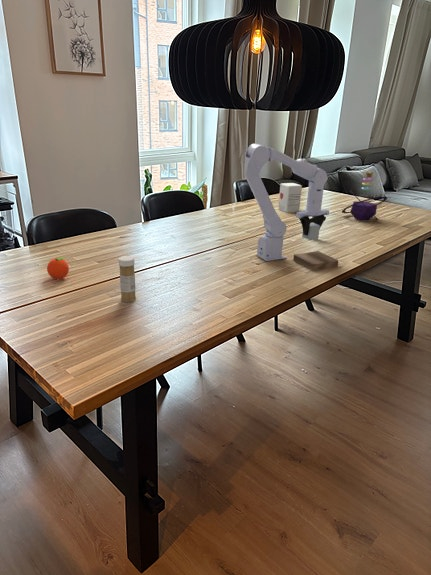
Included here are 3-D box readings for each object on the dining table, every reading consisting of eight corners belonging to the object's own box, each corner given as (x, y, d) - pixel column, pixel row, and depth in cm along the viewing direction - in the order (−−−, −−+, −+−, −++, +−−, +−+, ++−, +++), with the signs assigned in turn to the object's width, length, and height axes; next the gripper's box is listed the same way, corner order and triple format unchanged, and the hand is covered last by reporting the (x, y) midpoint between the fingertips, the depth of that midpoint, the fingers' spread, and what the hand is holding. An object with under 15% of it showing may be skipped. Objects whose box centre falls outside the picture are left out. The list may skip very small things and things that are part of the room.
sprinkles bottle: (130, 295, 139) (128, 254, 133) (139, 299, 136) (137, 258, 131) (117, 299, 136) (115, 257, 130) (126, 304, 133) (124, 261, 128)
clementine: (64, 272, 155) (62, 253, 152) (76, 277, 151) (74, 257, 148) (44, 278, 149) (41, 258, 147) (55, 283, 145) (53, 263, 143)
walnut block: (312, 272, 164) (313, 264, 163) (293, 261, 174) (293, 254, 173) (337, 267, 169) (338, 260, 168) (317, 258, 179) (318, 251, 178)
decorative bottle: (388, 225, 229) (397, 176, 220) (347, 224, 229) (354, 174, 220) (374, 215, 250) (382, 169, 240) (337, 213, 250) (343, 168, 240)
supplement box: (277, 209, 256) (279, 183, 250) (290, 208, 260) (293, 182, 254) (286, 213, 249) (288, 186, 243) (299, 211, 252) (302, 185, 246)
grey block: (309, 240, 175) (310, 226, 172) (302, 236, 178) (303, 223, 176) (318, 238, 177) (319, 225, 174) (311, 235, 180) (312, 222, 178)
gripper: (305, 203, 165) (302, 238, 170) (336, 200, 171) (331, 234, 177) (294, 199, 171) (291, 233, 176) (324, 197, 177) (320, 230, 182)
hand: (310, 234), depth 177 cm, fingers closed on grey block, 4 cm apart
